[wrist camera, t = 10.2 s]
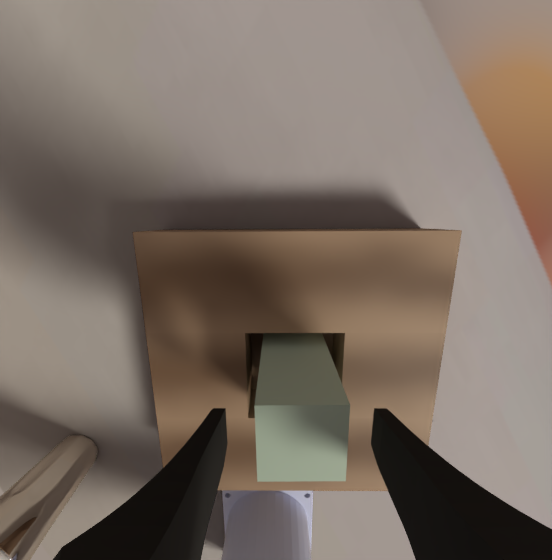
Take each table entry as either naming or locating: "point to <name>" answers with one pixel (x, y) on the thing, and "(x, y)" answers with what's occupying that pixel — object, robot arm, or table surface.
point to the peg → (300, 411)
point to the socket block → (294, 329)
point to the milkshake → (42, 496)
